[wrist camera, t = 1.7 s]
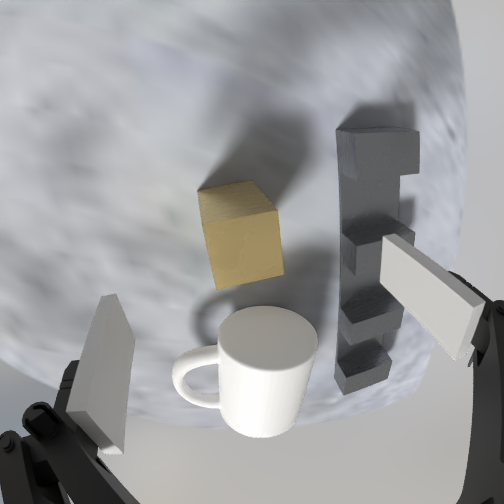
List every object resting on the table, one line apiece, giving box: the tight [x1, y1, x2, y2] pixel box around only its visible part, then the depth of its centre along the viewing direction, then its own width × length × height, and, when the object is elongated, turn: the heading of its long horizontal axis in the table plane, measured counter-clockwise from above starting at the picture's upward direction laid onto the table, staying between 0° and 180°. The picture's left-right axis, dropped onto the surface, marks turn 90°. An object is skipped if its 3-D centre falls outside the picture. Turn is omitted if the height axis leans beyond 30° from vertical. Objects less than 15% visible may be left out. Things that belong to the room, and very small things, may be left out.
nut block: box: [197, 180, 284, 290], centre depth 20 cm, size 4×4×7 cm
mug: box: [172, 306, 318, 438], centre depth 26 cm, size 12×10×8 cm
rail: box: [334, 127, 420, 395], centre depth 27 cm, size 28×6×3 cm, turn 8°
